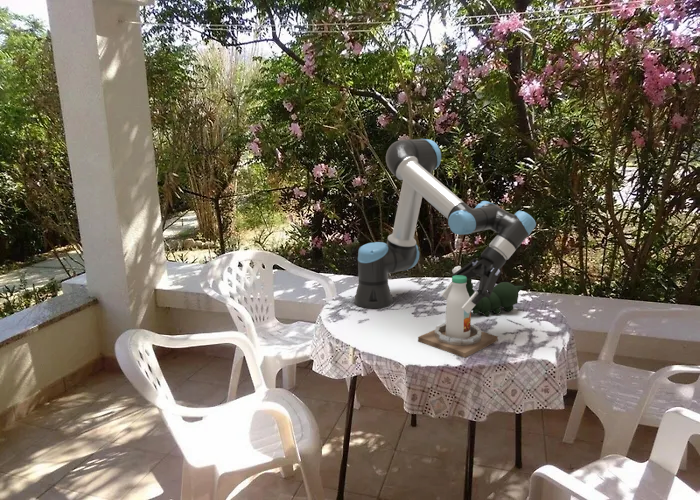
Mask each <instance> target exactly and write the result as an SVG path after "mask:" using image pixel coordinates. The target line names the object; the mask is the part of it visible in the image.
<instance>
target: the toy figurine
mask: <svg viewBox="0 0 700 500" xmlns="http://www.w3.org/2000/svg"><path fill="white" fill-rule="evenodd" d="M474 270H475V269H474ZM523 288H524V285H514V284H513V283H511V282H507V281H502V282H499V283H498V284H495V286H494V289H493V291H492V294H491V296H490V297H489V298H488V297H484V298H482V299H481V300H480V301H479V302H478V304H477V305H475V306H474V308H473V309H472V310H471V312H472V313H473V315H478V314H479V313H480V314H483V315H484V316H485V317H487V316H490V312H493V313H495V314H496V315H497V314H500V313H501V311H502V309H501V308H503V310H504V311H505V312H512V311H513V310H514V305H517V304H518V302H519V301H518V300H519V292H520V291H521V290H522V289H523ZM466 289H467V292H468V294H469V296H470V297H471V296H472V295H473V294H474V293H475V289H474V284H473V282H472V278H470V279H468V280H467V284H466Z"/></svg>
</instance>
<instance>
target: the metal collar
mask: <svg viewBox="0 0 700 500" xmlns="http://www.w3.org/2000/svg"><path fill="white" fill-rule="evenodd" d="M434 330H435V338H436V339H437V340H438V341H440V342H443V343H446V344H450V345H458V346H465V345H473V344H476V343H478V342H480V341H481V332H483V330H481V328H479V327H478V326H477V325H473V324H471V327H470V332H472V333H474V334H475V336H472V337H468V338H453V337H449V336H446V335H443V334H441V332H444V331H446V322H445V323H442V324H440V325H436V327H435V329H434Z"/></svg>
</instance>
